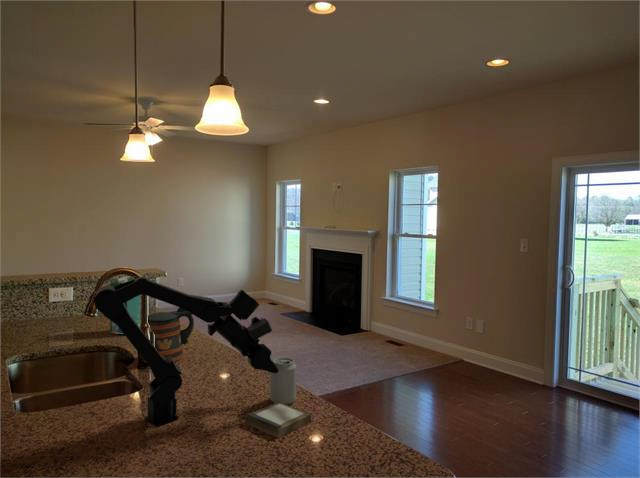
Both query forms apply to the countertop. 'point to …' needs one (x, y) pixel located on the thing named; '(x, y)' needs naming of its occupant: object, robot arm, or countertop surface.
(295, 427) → the grey flat square slab
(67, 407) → the countertop surface
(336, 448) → the countertop surface
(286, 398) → the can
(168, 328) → the beer stein
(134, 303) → the milk carton
